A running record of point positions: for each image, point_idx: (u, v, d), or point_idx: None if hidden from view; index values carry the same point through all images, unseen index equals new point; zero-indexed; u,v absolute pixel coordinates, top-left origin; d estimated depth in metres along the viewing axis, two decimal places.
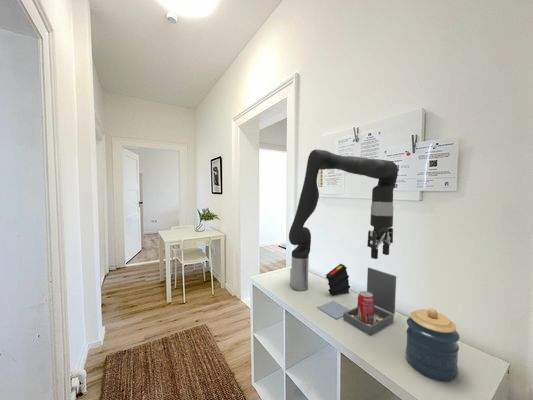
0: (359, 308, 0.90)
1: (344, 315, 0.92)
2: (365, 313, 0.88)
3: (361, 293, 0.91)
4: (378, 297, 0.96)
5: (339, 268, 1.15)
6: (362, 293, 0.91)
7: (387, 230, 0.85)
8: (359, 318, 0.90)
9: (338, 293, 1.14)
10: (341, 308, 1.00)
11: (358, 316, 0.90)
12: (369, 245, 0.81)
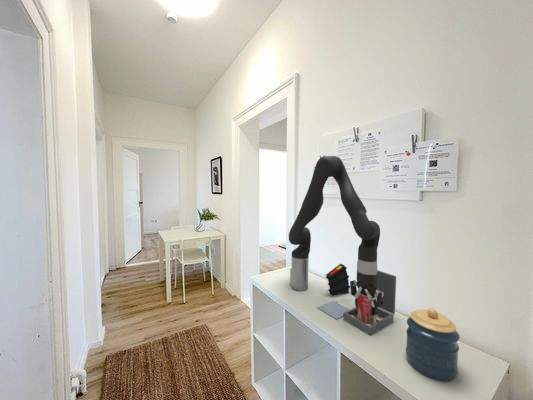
0: (359, 308, 0.90)
1: (344, 315, 0.92)
2: (365, 313, 0.88)
3: None
4: None
5: (339, 268, 1.15)
6: None
7: None
8: (359, 318, 0.90)
9: (338, 293, 1.14)
10: (341, 308, 1.00)
11: (358, 316, 0.90)
12: (380, 305, 0.85)
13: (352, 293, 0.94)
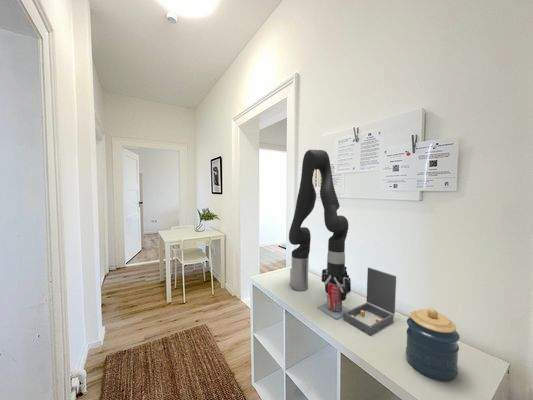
0: (329, 296, 0.99)
1: (344, 315, 0.92)
2: (333, 300, 0.97)
3: (331, 282, 1.00)
4: (378, 297, 0.96)
5: None
6: None
7: None
8: (328, 304, 0.99)
9: None
10: None
11: (328, 303, 1.00)
12: (348, 291, 0.94)
13: (322, 280, 1.04)
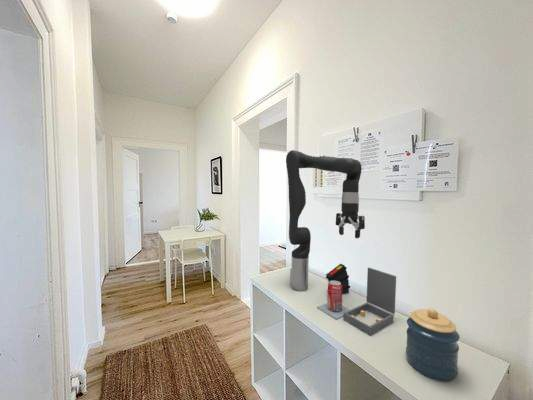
0: (329, 296, 0.99)
1: (344, 315, 0.92)
2: (333, 300, 0.97)
3: (331, 282, 1.00)
4: (378, 297, 0.96)
5: (339, 268, 1.15)
6: (332, 282, 1.01)
7: None
8: (328, 304, 0.99)
9: None
10: None
11: (328, 303, 1.00)
12: (362, 228, 0.99)
13: (336, 223, 1.09)
